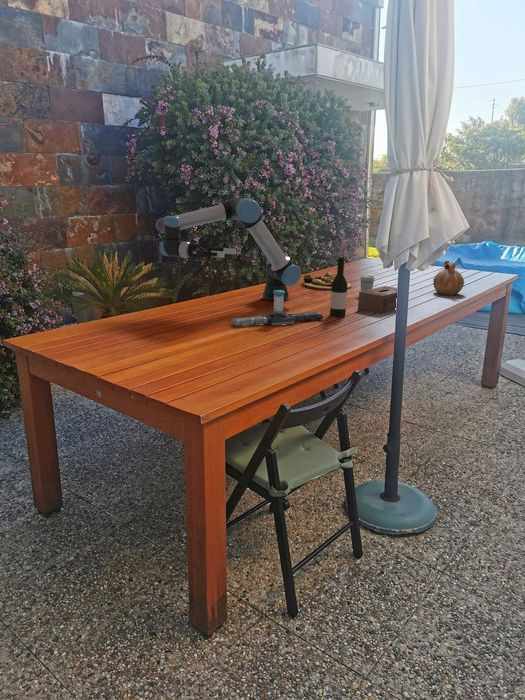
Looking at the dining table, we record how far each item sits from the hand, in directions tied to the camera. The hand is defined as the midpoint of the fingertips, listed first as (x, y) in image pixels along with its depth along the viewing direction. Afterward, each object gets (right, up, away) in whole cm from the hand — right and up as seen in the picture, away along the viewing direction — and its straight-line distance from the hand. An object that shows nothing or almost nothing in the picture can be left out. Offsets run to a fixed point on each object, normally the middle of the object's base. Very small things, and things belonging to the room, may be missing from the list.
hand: (230, 253), depth 265 cm
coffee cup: (+77, -14, +70) cm, 105 cm away
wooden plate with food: (+57, -5, +100) cm, 115 cm away
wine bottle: (+54, -28, +22) cm, 64 cm away
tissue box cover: (+80, -24, +40) cm, 93 cm away
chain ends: (+23, -32, +5) cm, 40 cm away
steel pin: (+23, -32, +5) cm, 40 cm away
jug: (+130, -11, +84) cm, 155 cm away
